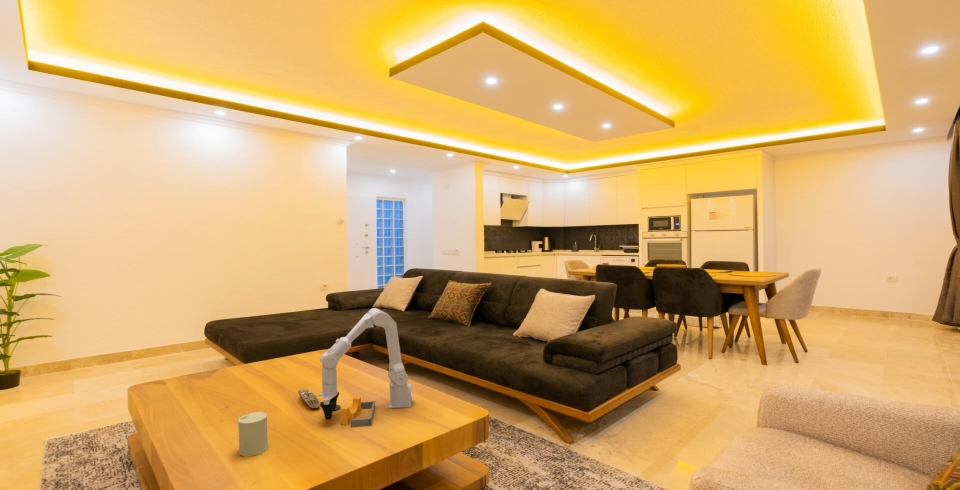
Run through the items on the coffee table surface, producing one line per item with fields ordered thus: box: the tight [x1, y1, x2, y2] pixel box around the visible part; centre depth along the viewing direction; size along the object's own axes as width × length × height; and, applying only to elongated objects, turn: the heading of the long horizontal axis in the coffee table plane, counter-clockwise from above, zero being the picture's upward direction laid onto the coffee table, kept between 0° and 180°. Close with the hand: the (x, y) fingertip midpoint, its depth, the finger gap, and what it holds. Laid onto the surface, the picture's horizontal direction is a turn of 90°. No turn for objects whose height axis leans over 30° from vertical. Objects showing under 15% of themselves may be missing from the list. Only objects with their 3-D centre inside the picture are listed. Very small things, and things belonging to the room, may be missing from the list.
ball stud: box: [334, 400, 342, 412], centre depth 187 cm, size 5×5×6 cm
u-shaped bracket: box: [349, 401, 376, 428], centre depth 179 cm, size 8×18×3 cm, turn 9°
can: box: [237, 411, 269, 457], centre depth 153 cm, size 9×9×12 cm
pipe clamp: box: [340, 396, 362, 426], centre depth 178 cm, size 12×4×6 cm, turn 170°
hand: (330, 415), depth 177 cm, fingers open, 7 cm apart
